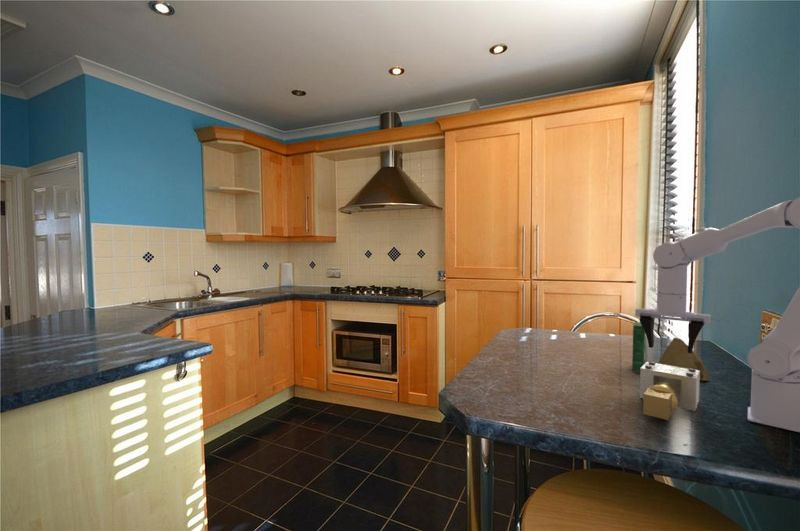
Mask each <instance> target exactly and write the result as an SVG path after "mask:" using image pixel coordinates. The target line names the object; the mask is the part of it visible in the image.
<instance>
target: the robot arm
mask: <svg viewBox="0 0 800 531" xmlns="http://www.w3.org/2000/svg"><path fill="white" fill-rule="evenodd" d="M774 228H796V229H798V230H799V231H800V196H798V197H797V198H796V199H794V200H792V199H790V200H786V201H783V202H781V203H778V204H776V205H773V206H771V207H769V208H766V209H765V210H762V211H760V212H757V213H755V214H753V215H751V216H748V217H745V218H743V219H741V220H739V221H735V222H734V223H731V224H729V225H727V226H725V227H723V228H721V229H718V228H714V227H708V228H707V227H700V228H697V229H696V232H695V233H693V234H690V235H688V236H685V237H683V238H682V237H678V238H675V239H674V243H672V242H663V243H661V244H660V245H658V246H657V247H656V248H655V249H654V251H653V254H652V258H653V260H654V262H655V264H656V265H657V280H656V281H657V283H656V284H657V286H656V287H657V289H656V292H657V293H656V295H657V296H656V309H654V308H639V307H637V308H635V310H634V311H635V312H634V313H635V314H634V317H637V318H639V321H638V322H640V323H641V325H642V327H643V329H644V331H645V337H646V339H647V343H648V348H654V344H655V338H654V332H655V330H654V329H655V320H656V319H661V320H668V321H669V320H670V321H681V322H688V344H687V345H688V353H692V352H693V351H694V347H695V343H696V341H697V339H698V336H699V334H700V333H701V330H702V329H703V327H704V325H710V324H711V314H707V313H697V312H689V311H687V292H688V290H687V287H688V267H689V265H690V264H691V263H692V262H695V261H698V260H702V259H704V258H707V257H710V256H712V255H716V254H718V253H721V252H724V251H725V249H726V248H727V246H728V244H729V243H731V242H735V241H737V240H741V239H744V238H747V237H750V236H752V235H756V234H760V233H762V232H765V231H768V230H772V229H774ZM746 358H747V363H748V365H749V367H750V369H751V382H750V383H751V386H750V388H751V389H750V406H747V421H748V422H753V423H757V424H760V425H766V426H770V427H775V428H780V429H783V430H788V431H793V432H797V433H800V286H798V289H796V292H795V294H794V295H793V297H792V298H791V300H790V302H789V304H788V306H786V309H785V310H784V312H783V314H782V315H781V317H780V319H779V320H778V322H777V324H776V326H775V327H774V328H773V329H771V330H770V331H769V332H768V334H767V335H766V336H765V337H764V338H763V340H762V341H761V343H759V344H758V345H756V346H754V347H752V348H751V349H750V350H749V351H748V352H747V356H746Z"/></svg>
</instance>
